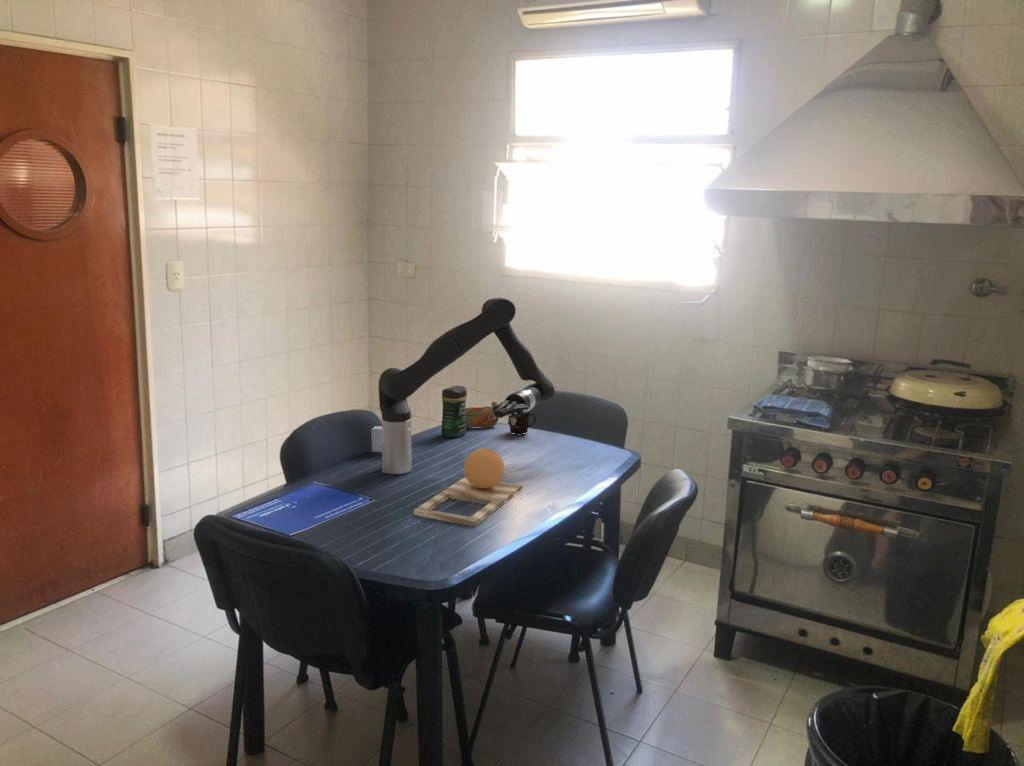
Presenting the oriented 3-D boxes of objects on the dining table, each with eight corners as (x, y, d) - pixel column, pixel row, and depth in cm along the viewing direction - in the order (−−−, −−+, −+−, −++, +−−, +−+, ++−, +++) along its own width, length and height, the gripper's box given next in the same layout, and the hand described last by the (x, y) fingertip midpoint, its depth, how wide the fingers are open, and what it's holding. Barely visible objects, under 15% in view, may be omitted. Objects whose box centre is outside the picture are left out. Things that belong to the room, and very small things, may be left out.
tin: (460, 429, 309) (461, 408, 308) (459, 427, 312) (459, 406, 311) (498, 427, 313) (499, 406, 312) (496, 425, 316) (497, 404, 315)
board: (466, 480, 252) (466, 476, 252) (521, 489, 245) (522, 485, 245) (413, 515, 224) (413, 509, 223) (475, 526, 216) (475, 521, 216)
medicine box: (397, 450, 282) (396, 426, 280) (394, 454, 277) (393, 430, 276) (375, 449, 283) (374, 425, 281) (371, 453, 278) (371, 429, 276)
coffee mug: (503, 431, 308) (504, 405, 306) (524, 428, 312) (524, 403, 310) (516, 439, 298) (517, 413, 296) (537, 436, 301) (538, 411, 299)
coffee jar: (456, 439, 296) (456, 390, 292) (438, 436, 300) (438, 387, 296) (470, 433, 304) (470, 385, 300) (452, 430, 308) (452, 383, 304)
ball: (464, 494, 236) (465, 455, 233) (462, 481, 247) (463, 443, 245) (505, 494, 237) (506, 455, 234) (501, 480, 249) (502, 443, 246)
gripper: (501, 388, 263) (478, 400, 248) (539, 393, 258) (518, 405, 243) (501, 411, 265) (478, 423, 250) (539, 416, 260) (517, 429, 244)
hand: (498, 414), depth 246 cm, fingers closed
